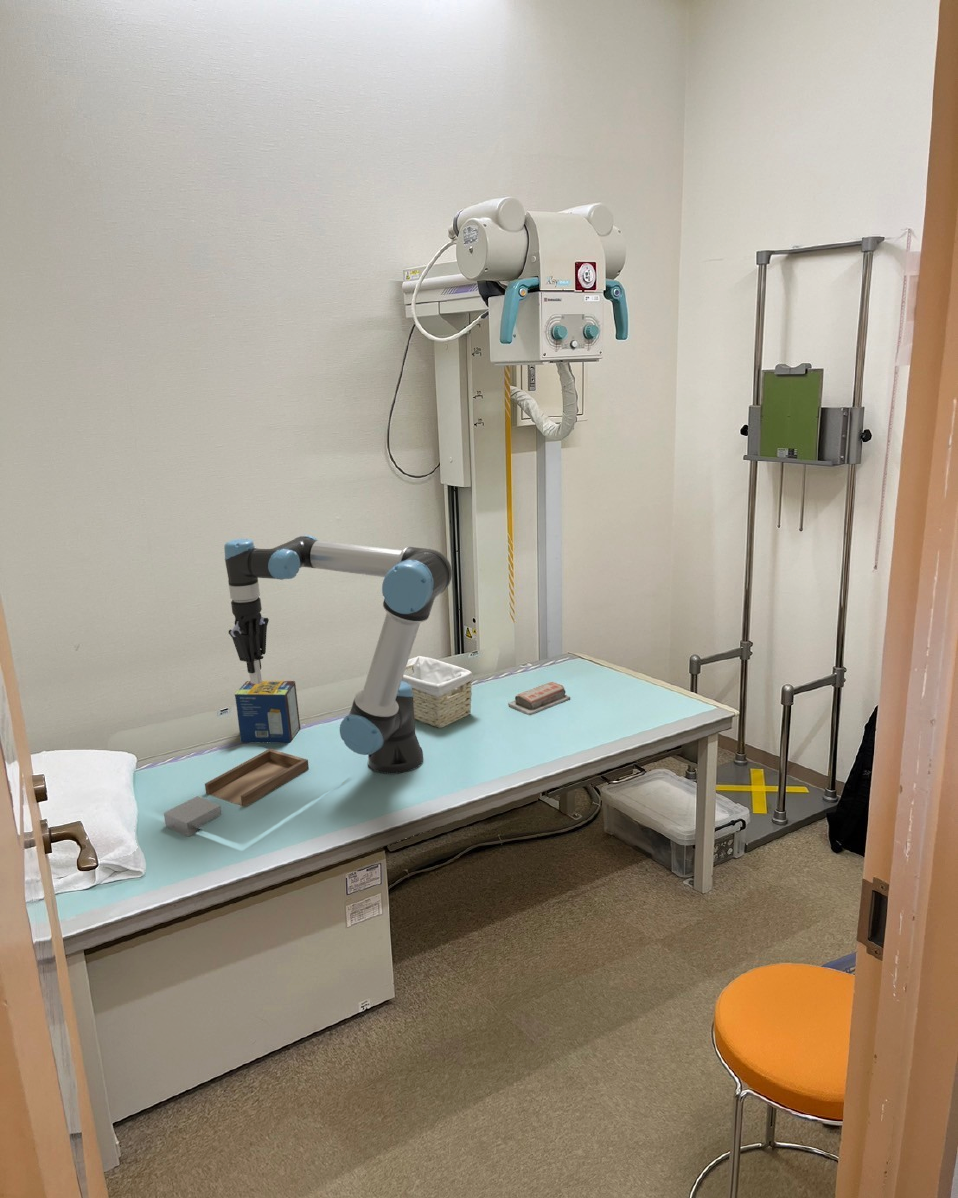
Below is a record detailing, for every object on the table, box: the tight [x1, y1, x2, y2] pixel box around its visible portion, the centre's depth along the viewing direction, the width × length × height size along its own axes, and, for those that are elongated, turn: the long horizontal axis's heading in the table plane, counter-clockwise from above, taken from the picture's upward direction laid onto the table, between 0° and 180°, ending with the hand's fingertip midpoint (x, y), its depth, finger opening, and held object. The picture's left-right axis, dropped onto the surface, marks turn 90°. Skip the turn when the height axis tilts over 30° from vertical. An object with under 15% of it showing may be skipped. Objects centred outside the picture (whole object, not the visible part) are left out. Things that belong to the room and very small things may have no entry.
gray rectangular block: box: [163, 795, 222, 837], centre depth 226 cm, size 9×10×4 cm
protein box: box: [234, 680, 301, 744], centre depth 271 cm, size 10×15×16 cm
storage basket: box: [402, 655, 474, 729], centre depth 282 cm, size 24×16×15 cm
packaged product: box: [507, 681, 571, 716], centre depth 289 cm, size 18×5×10 cm
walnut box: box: [204, 748, 309, 808], centre depth 243 cm, size 14×23×4 cm, turn 147°
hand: (256, 682), depth 246 cm, fingers closed
